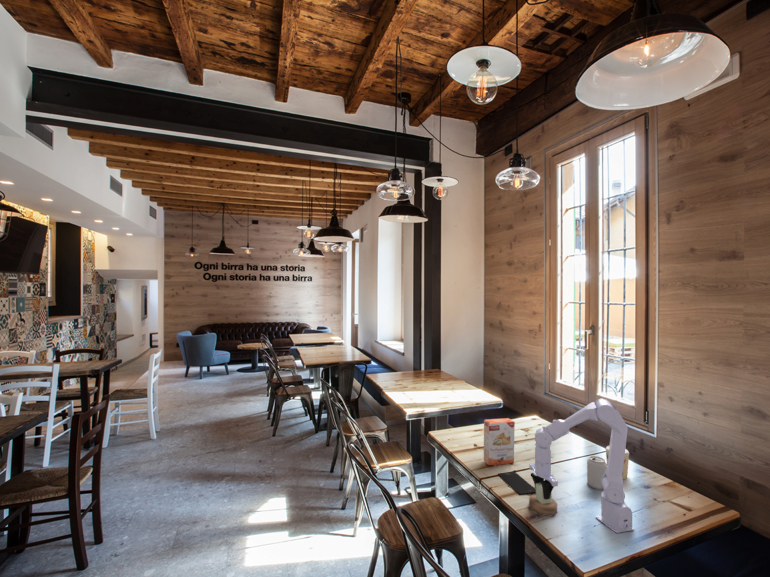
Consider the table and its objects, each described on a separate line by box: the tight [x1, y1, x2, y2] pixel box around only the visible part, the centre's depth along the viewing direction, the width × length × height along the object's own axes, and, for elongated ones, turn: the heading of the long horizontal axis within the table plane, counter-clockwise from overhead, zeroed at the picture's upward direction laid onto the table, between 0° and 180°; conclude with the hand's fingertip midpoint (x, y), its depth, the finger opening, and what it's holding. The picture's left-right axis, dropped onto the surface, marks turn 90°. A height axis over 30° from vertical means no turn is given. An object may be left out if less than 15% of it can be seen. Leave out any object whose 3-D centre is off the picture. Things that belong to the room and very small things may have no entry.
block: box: [535, 483, 552, 504], centre depth 144 cm, size 4×4×6 cm
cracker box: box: [483, 417, 515, 466], centre depth 183 cm, size 14×6×21 cm, turn 102°
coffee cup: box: [605, 445, 630, 480], centre depth 171 cm, size 9×9×12 cm
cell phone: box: [497, 471, 536, 496], centre depth 163 cm, size 9×18×1 cm, turn 13°
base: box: [528, 493, 558, 516], centre depth 144 cm, size 10×10×3 cm
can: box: [586, 455, 607, 490], centre depth 161 cm, size 8×8×12 cm
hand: (542, 495), depth 144 cm, fingers closed on block, 4 cm apart
